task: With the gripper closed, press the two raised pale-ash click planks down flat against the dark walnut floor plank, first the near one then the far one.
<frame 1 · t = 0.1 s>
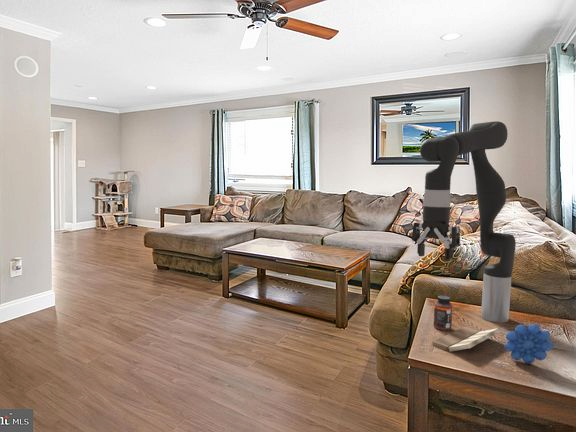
hand: (433, 258, 110), 29 cm above the table, fingers open, 8 cm apart
plank b: (466, 343, 112), point 2 cm above the table, hinge at 30.0°
grapes: (526, 362, 106), on the table
supplement bottle: (442, 328, 130), on the table
plank a: (483, 335, 118), point 2 cm above the table, hinge at 30.0°
laid plank: (456, 339, 120), on the table
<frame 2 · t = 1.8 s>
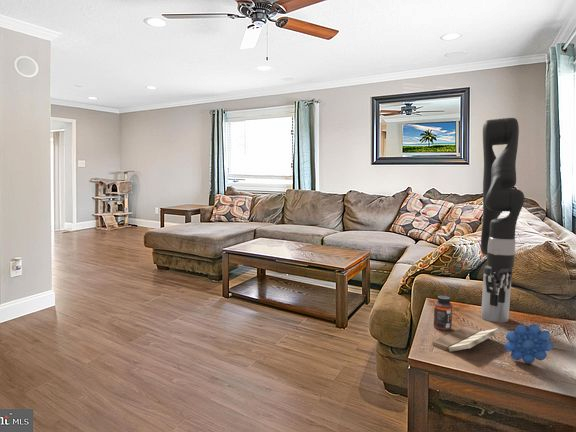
hand: (497, 303, 116), 13 cm above the table, fingers open, 4 cm apart
nothing on the table moved.
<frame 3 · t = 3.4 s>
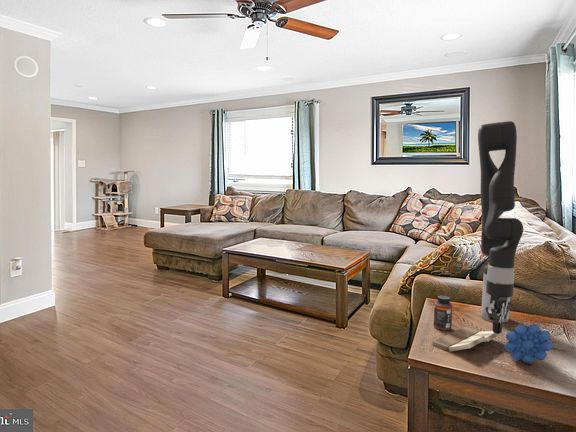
hand: (496, 332, 117), 4 cm above the table, fingers closed
plank a: (483, 336, 118), point 2 cm above the table, hinge at 24.0°, touching gripper
everything else where it was.
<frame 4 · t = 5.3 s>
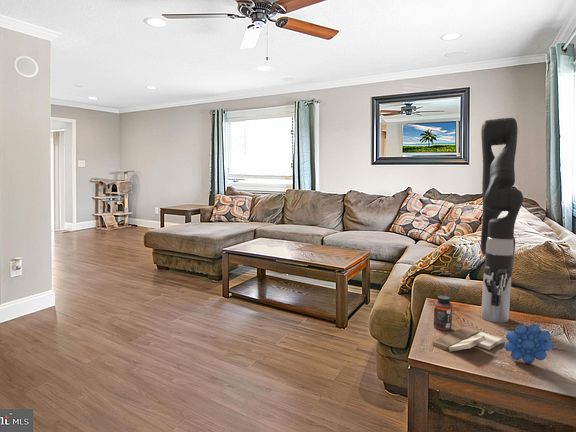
hand: (495, 305, 115), 13 cm above the table, fingers closed
plank a: (485, 340, 118), point 1 cm above the table, hinge at 2.8°
everything else where it was.
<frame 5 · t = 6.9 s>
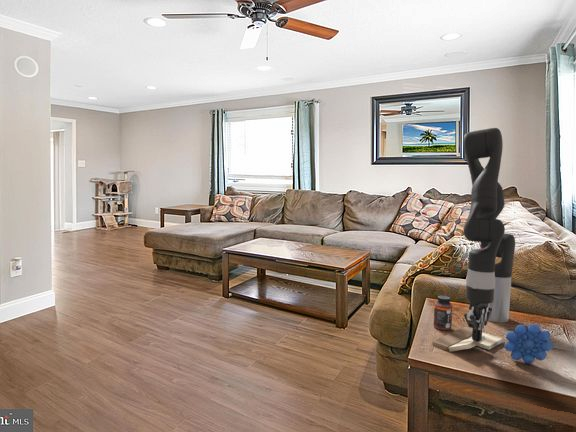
hand: (476, 340, 110), 4 cm above the table, fingers closed
plank b: (467, 343, 112), point 2 cm above the table, hinge at 29.6°, touching gripper
everything else where it was.
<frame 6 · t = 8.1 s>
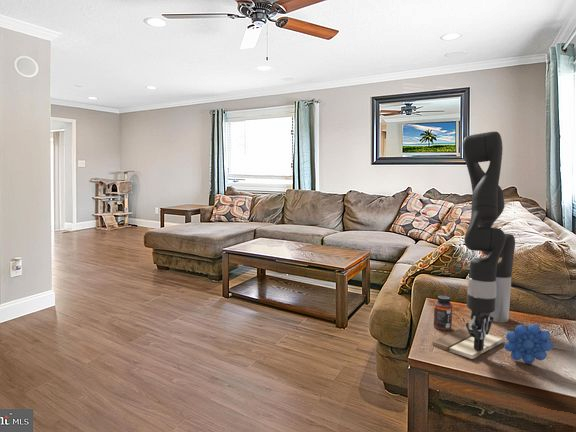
hand: (478, 349, 109), 2 cm above the table, fingers closed
plank b: (469, 348, 112), point 1 cm above the table, hinge at 4.2°
everything else where it was.
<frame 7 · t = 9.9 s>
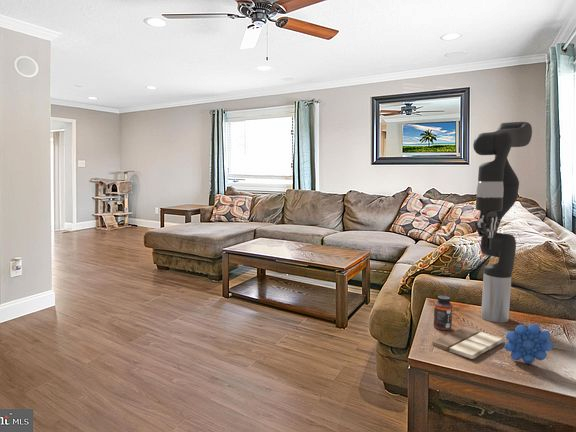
hand: (486, 249, 117), 31 cm above the table, fingers closed
nothing on the table moved.
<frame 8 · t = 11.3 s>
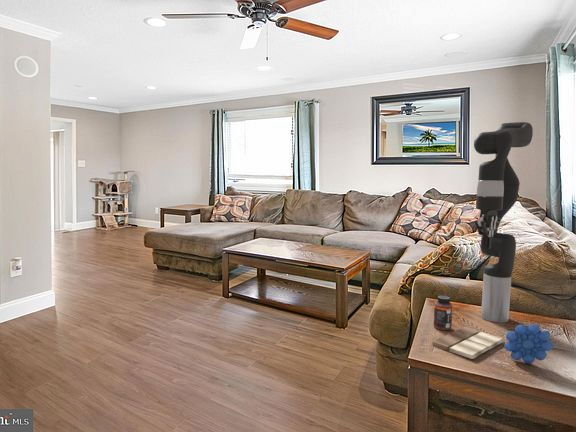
hand: (486, 248, 117), 31 cm above the table, fingers closed
nothing on the table moved.
at the end: plank a at +3° (first picture: +30°); plank b at +4° (first picture: +30°) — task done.
